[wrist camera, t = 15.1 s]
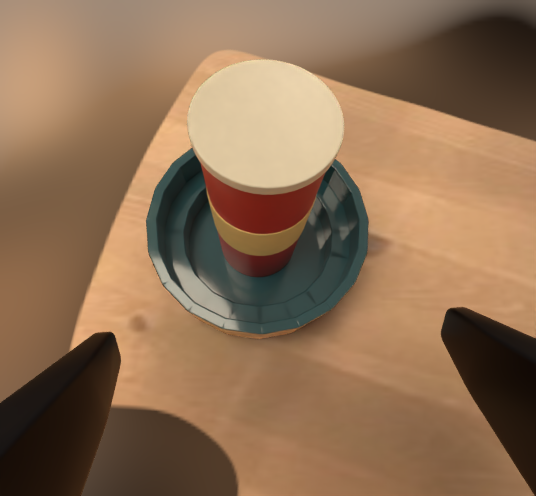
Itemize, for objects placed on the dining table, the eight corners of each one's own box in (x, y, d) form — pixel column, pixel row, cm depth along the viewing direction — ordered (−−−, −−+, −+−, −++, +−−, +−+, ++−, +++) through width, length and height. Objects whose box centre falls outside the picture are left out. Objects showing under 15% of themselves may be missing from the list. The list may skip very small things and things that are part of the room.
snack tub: (263, 295, 22) (278, 220, 10) (202, 245, 23) (152, 122, 11) (311, 237, 23) (374, 113, 12) (253, 193, 24) (257, 36, 13)
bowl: (214, 376, 21) (204, 380, 16) (137, 208, 24) (113, 176, 20) (382, 282, 23) (411, 264, 19) (291, 143, 27) (299, 102, 22)
